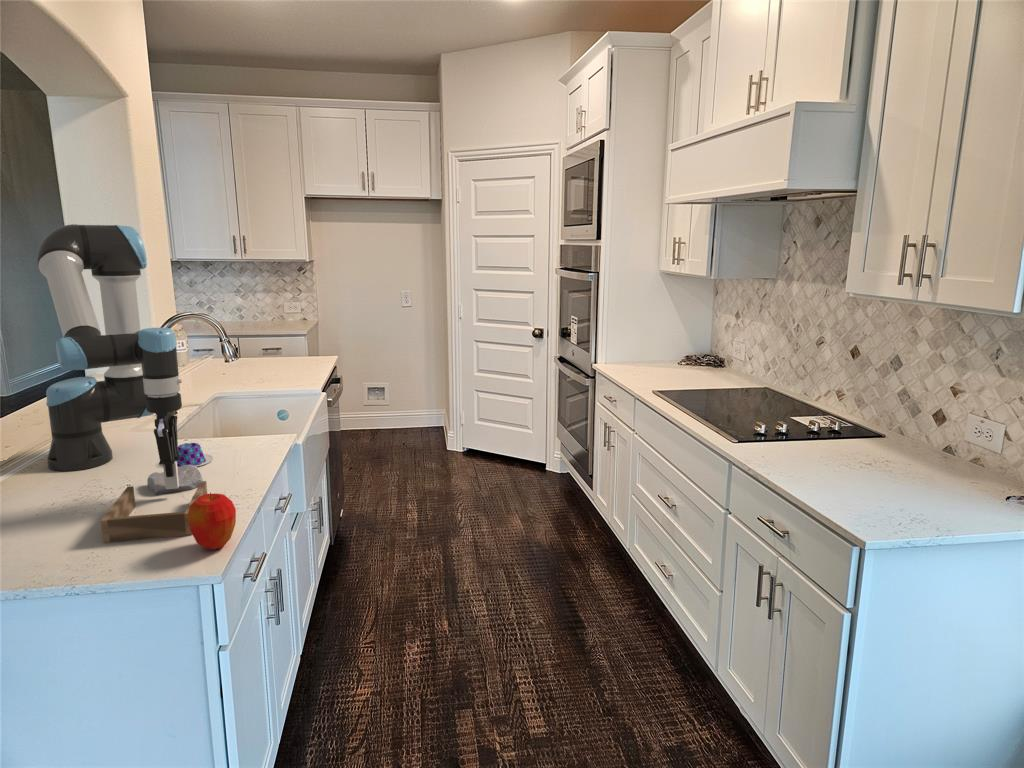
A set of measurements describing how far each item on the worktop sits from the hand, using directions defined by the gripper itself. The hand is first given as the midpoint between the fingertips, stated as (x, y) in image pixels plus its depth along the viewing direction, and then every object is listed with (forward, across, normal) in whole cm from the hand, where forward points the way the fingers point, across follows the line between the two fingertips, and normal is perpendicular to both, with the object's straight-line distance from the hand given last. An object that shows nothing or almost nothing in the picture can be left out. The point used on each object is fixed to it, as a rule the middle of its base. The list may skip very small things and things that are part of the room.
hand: (172, 487), depth 159 cm
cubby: (+3, -14, 0) cm, 14 cm away
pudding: (+3, +26, +1) cm, 27 cm away
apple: (+3, -30, -14) cm, 33 cm away
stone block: (+3, +8, +1) cm, 8 cm away
